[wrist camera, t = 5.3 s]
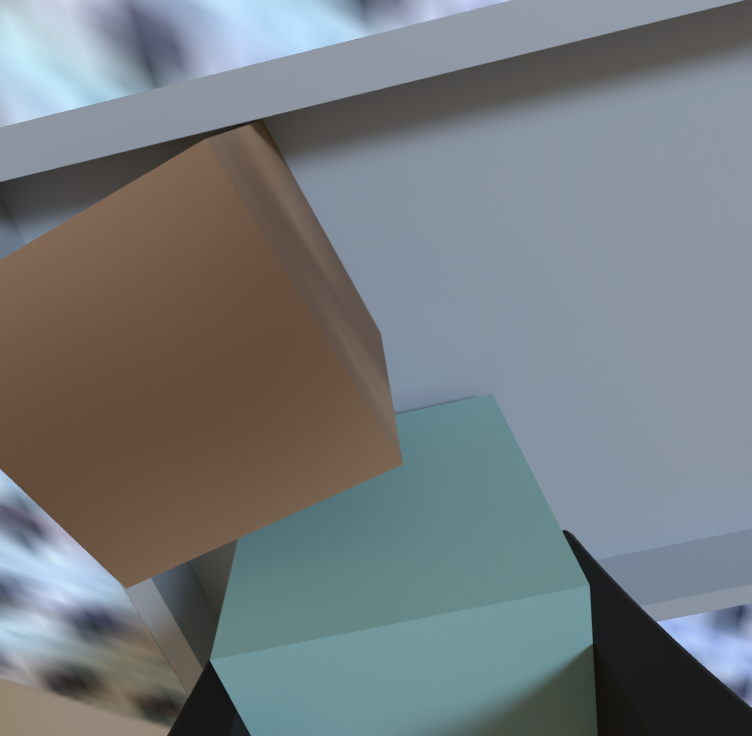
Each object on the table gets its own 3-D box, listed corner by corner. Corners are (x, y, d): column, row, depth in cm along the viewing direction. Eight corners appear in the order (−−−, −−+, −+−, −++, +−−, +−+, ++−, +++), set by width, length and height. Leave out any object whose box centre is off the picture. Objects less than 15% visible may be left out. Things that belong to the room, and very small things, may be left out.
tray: (841, 507, 13) (918, 570, 12) (216, 633, 14) (198, 711, 12) (978, -105, 8) (1158, -162, 6) (-40, 147, 9) (-136, 160, 7)
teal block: (515, 564, 12) (600, 793, 8) (320, 604, 12) (311, 845, 8) (492, 393, 10) (589, 585, 6) (260, 443, 10) (210, 660, 6)
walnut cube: (380, 333, 10) (403, 464, 6) (197, 423, 11) (125, 588, 7) (262, 120, 8) (204, 139, 5) (54, 242, 9) (-135, 339, 5)
